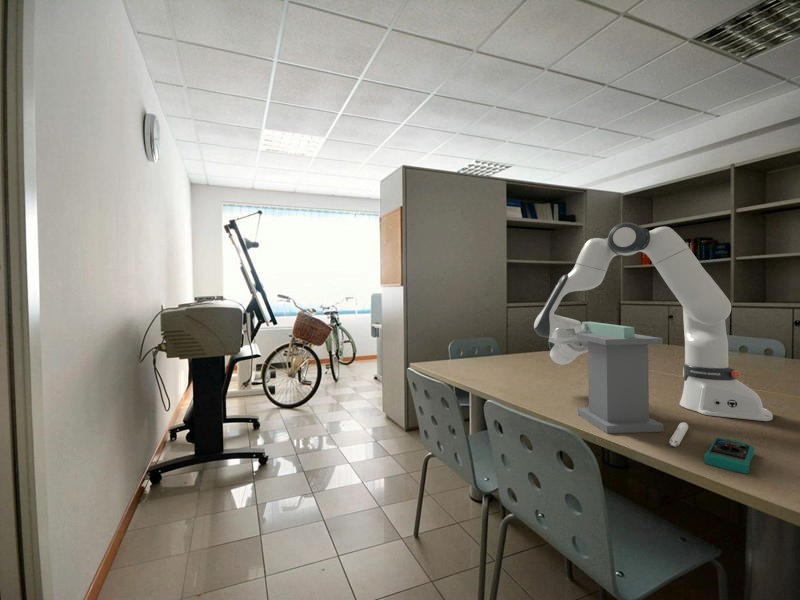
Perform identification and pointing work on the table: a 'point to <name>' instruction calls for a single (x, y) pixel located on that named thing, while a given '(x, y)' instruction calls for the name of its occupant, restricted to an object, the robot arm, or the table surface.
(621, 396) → the stand
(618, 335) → the bar
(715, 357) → the robot arm
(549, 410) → the table surface
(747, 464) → the digital multimeter
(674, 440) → the white rod
